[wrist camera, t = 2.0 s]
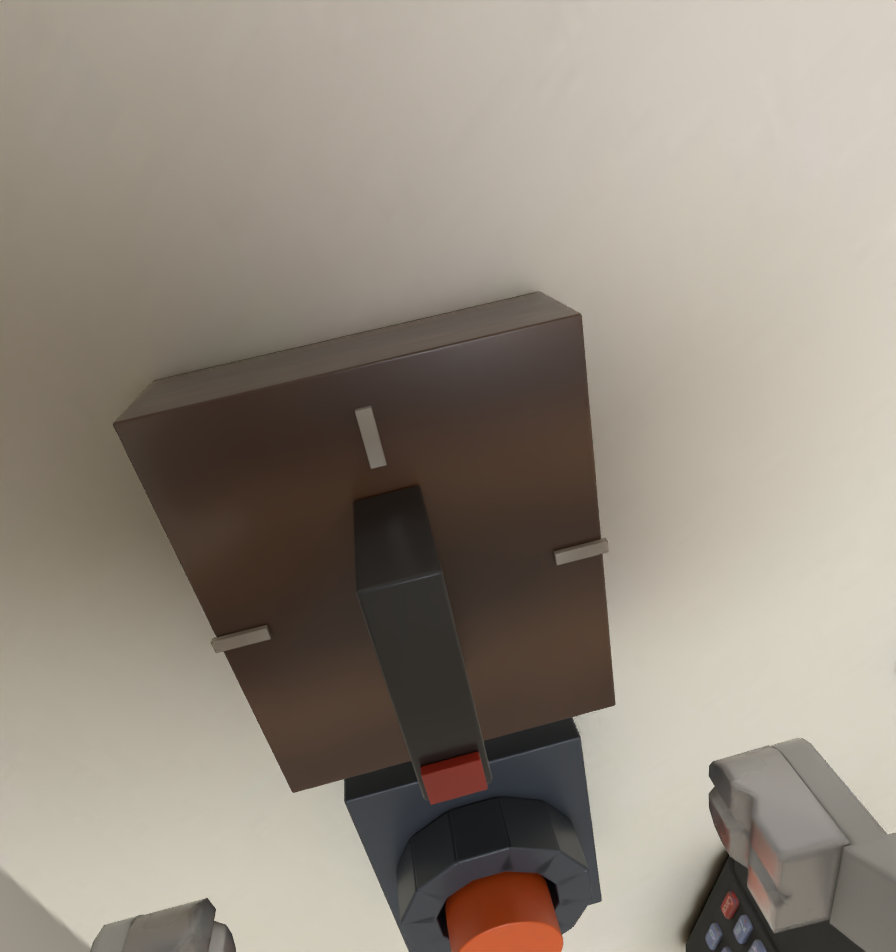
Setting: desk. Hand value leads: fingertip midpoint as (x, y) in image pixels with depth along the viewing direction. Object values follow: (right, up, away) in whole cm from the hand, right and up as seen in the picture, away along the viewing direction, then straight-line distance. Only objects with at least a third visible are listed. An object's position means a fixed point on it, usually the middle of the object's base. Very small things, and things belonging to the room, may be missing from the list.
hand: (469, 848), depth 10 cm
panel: (-2, +4, +8) cm, 10 cm away
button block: (+1, -7, +14) cm, 16 cm away
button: (+1, -9, +11) cm, 14 cm away
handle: (-1, +3, +6) cm, 6 cm away
